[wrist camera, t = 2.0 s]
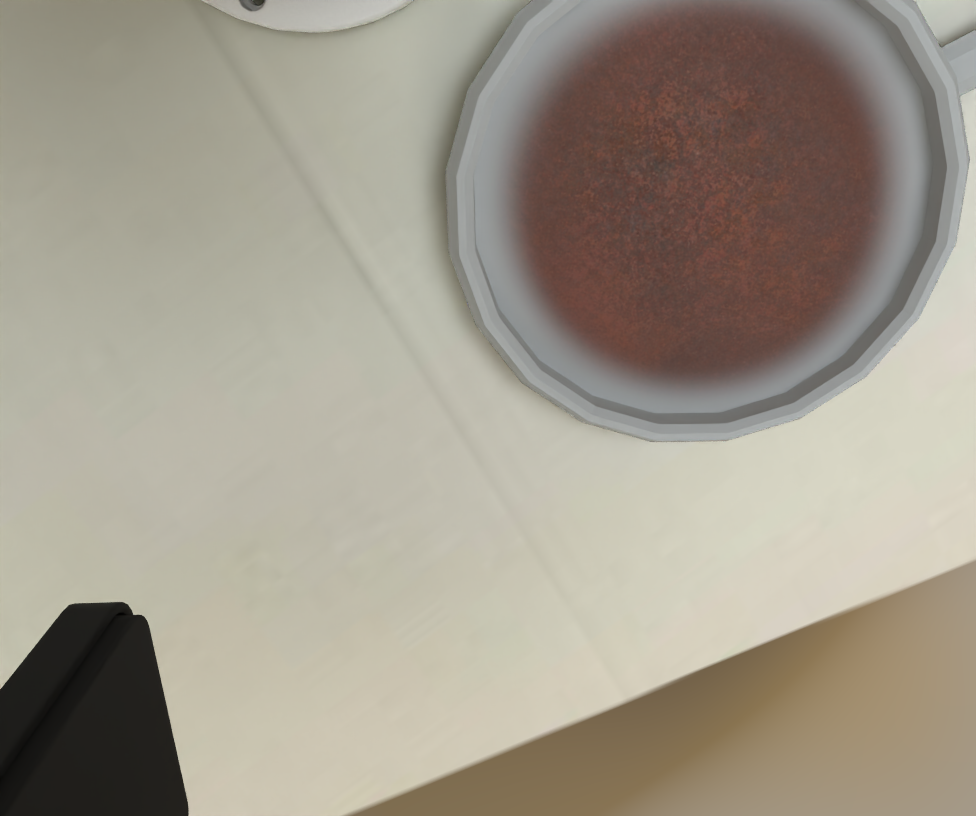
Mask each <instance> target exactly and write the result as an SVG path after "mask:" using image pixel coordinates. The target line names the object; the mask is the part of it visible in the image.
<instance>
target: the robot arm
mask: <svg viewBox="0 0 976 816" xmlns="http://www.w3.org/2000/svg"><path fill="white" fill-rule="evenodd" d="M202 1H203V2H205V3H207V4H209V5H211V6H213V7H215V8H217V9H219V10H221V11H223V12H225V13H227V14H229V15H231V16H233V17H235V18H237V19H240V20H243V21H247V22H250V23H254V24H257V25H261V26H264V27H268V28H271V29H275V30H284V31H294V32H311V33H315V32H331V31H339V30H343V29H347V28H352V27H356V26H360V25H364V24H368V23H372V22H374V21H376V20H378V19H381V18H383V17H385V16H387V15H389V14H391V13H393V12H395V11H398V10H400V9H402V8H404V7H406V6H407V5H408V4H410V3H411V2H412V1H414V0H264V2H263V4H261V5H259V6H257V5H256V4H254V2H253V1H252V0H202ZM0 816H188V802H187V797H186V792H185V788H184V783H183V779H182V774H181V770H180V765H179V761H178V756H177V751H176V747H175V742H174V738H173V733H172V729H171V724H170V720H169V715H168V710H167V706H166V701H165V697H164V692H163V688H162V683H161V678H160V674H159V669H158V665H157V660H156V656H155V651H154V647H153V642H152V637H151V633H150V628H149V625H148V622H147V620H146V619H145V617H144V616H142V615H133V613H132V610H131V609H130V607H129V606H128V605H127V604H125V603H123V602H111V603H78V604H71V605H69V606H68V607H67V608H66V609H64V610H63V612H62V613H61V614H60V615H59V617H58V618H57V619H56V620H55V622H54V623H53V624H52V625H51V627H50V628H49V629H48V630H47V632H46V633H45V634H44V635H43V637H42V638H41V639H40V640H39V642H38V643H37V644H36V645H35V647H34V648H33V649H32V651H31V652H30V653H29V654H28V656H27V657H26V658H25V659H24V661H23V662H22V663H21V664H20V666H19V667H18V668H17V669H16V671H15V672H14V673H13V674H12V676H11V677H10V678H9V679H8V681H7V682H6V683H5V684H4V686H3V687H2V688H1V689H0Z"/></svg>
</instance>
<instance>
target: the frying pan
mask: <svg viewBox="0 0 976 816" xmlns="http://www.w3.org/2000/svg"><path fill="white" fill-rule="evenodd" d="M974 88H976V30H974V31H972V32H970V33H968V34H966V35H964V36H962V37H960V38H958V39H956V40H955V41H953V42H951V43H949V44H947V45H945V46H943V47H940V45H939V44H938V42H937V40H936V38H935V36H934V34H933V33H932V31H931V29H930V27H929V25H928V24H927V22H926V20H925V18H924V16H923V14H922V13H921V11H920V9H919V7H918V5H917V4H916V2H915V1H914V0H532V1H531V2H530V3H529V4H527V5H526V6H525V7H524V8H523V9H521V10H520V11H519V12H518V13H517V14H516V15H515V17H514V19H513V20H512V22H511V23H510V25H509V26H508V28H507V29H506V31H505V32H504V34H503V36H502V37H501V39H500V40H499V42H498V43H497V45H496V46H495V48H494V49H493V51H492V53H491V54H490V56H489V57H488V59H487V60H486V62H485V63H484V65H483V66H482V68H481V70H480V71H479V73H478V74H477V76H476V77H475V79H474V80H473V82H472V84H471V85H470V87H469V88H468V91H467V95H466V98H465V102H464V106H463V109H462V113H461V117H460V120H459V124H458V127H457V131H456V135H455V138H454V142H453V146H452V149H451V153H450V157H449V160H448V164H447V168H446V171H445V174H446V198H447V223H448V248H449V255H450V257H451V260H452V263H453V265H454V268H455V271H456V274H457V276H458V279H459V282H460V284H461V287H462V290H463V292H464V295H465V298H466V300H467V303H468V306H469V309H470V311H471V314H472V317H473V319H474V322H475V325H476V326H477V327H478V328H479V330H480V331H481V332H482V333H483V335H484V336H485V337H486V338H487V340H488V341H489V342H490V343H491V345H492V346H493V347H494V348H495V350H496V351H497V352H498V353H499V355H500V356H501V357H502V359H503V360H504V361H505V362H506V364H507V365H508V366H509V367H510V369H511V370H512V371H513V372H514V374H515V375H516V376H517V377H518V379H519V380H520V381H521V382H522V383H523V384H525V385H526V386H528V387H529V388H531V389H532V390H534V391H535V392H537V393H538V394H540V395H542V396H543V397H545V398H546V399H548V400H549V401H551V402H552V403H554V404H555V405H557V406H558V407H560V408H561V409H563V410H564V411H566V412H567V413H569V414H570V415H572V416H573V417H575V418H576V419H578V420H579V421H581V422H583V423H587V424H590V425H594V426H597V427H601V428H604V429H608V430H611V431H615V432H618V433H622V434H625V435H629V436H632V437H636V438H639V439H643V440H646V441H650V442H690V441H727V440H731V439H734V438H737V437H741V436H744V435H747V434H751V433H754V432H757V431H761V430H764V429H767V428H770V427H774V426H777V425H780V424H784V423H787V422H790V421H794V420H797V419H800V418H802V417H803V416H805V415H807V414H808V413H810V412H811V411H813V410H814V409H816V408H818V407H819V406H821V405H822V404H824V403H825V402H827V401H829V400H830V399H832V398H833V397H835V396H837V395H838V394H840V393H841V392H843V391H844V390H846V389H848V388H849V387H851V386H852V385H854V384H855V383H857V382H859V381H860V380H862V379H863V378H865V377H866V376H867V375H868V374H869V373H870V372H871V371H872V370H873V369H874V367H875V366H876V365H877V364H878V363H879V362H880V361H881V360H882V359H883V357H884V356H885V355H886V354H887V353H888V352H889V351H890V350H891V349H892V348H893V346H894V345H895V344H896V343H897V342H898V341H899V340H900V339H901V338H902V337H903V335H904V334H905V333H906V332H907V331H908V330H909V329H910V328H911V327H912V325H913V324H914V323H915V322H916V321H917V320H918V319H919V317H920V315H921V313H922V311H923V309H924V307H925V305H926V303H927V301H928V299H929V297H930V295H931V293H932V291H933V289H934V287H935V285H936V283H937V281H938V279H939V277H940V275H941V273H942V271H943V269H944V267H945V265H946V263H947V261H948V258H949V256H950V254H951V252H952V250H953V248H954V246H955V244H956V241H957V235H958V229H959V223H960V217H961V211H962V205H963V199H964V192H965V186H966V180H967V174H968V168H969V162H970V158H969V151H968V145H967V139H966V132H965V126H964V120H963V113H962V107H961V101H960V96H961V95H963V94H965V93H967V92H969V91H971V90H972V89H974Z"/></svg>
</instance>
